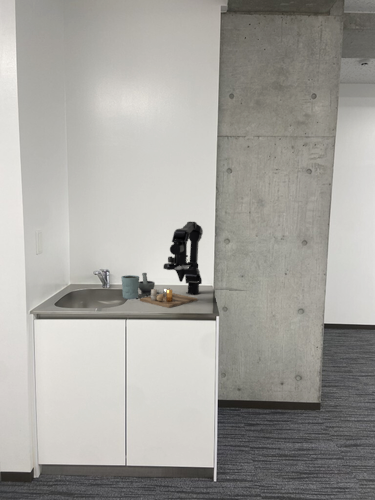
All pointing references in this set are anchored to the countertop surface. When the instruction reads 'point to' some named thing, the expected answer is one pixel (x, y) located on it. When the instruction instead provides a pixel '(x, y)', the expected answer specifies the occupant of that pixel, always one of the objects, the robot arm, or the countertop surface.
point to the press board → (175, 301)
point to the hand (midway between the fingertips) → (180, 281)
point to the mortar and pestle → (146, 285)
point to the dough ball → (159, 297)
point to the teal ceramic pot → (130, 286)
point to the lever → (167, 294)
